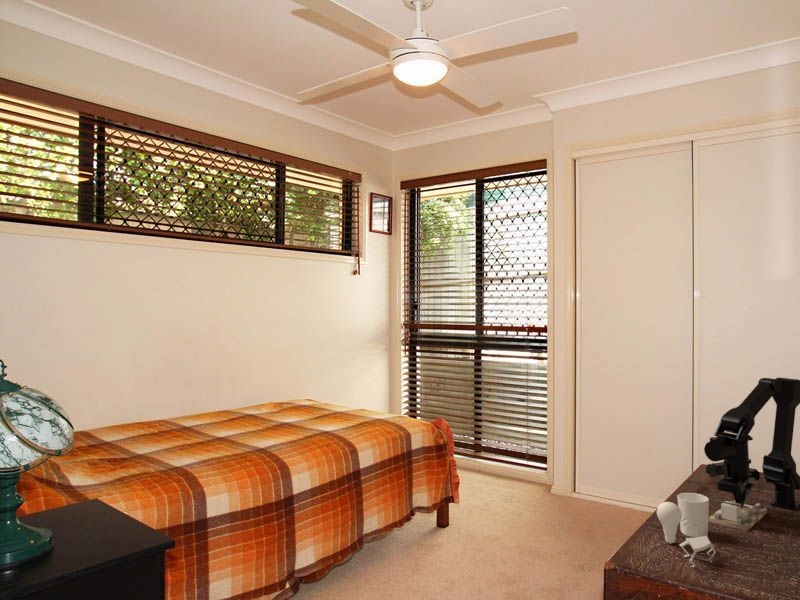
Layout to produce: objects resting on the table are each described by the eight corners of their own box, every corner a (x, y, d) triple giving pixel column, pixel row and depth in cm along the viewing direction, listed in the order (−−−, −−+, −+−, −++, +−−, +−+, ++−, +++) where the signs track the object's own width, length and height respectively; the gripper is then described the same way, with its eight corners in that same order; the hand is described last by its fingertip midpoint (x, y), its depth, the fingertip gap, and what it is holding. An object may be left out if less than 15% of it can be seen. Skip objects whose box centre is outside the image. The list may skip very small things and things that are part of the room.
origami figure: (680, 549, 149) (679, 530, 149) (716, 555, 145) (715, 536, 145) (677, 569, 139) (676, 548, 139) (716, 575, 135) (716, 555, 135)
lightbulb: (685, 548, 149) (684, 506, 150) (661, 547, 151) (659, 506, 151) (679, 539, 155) (677, 498, 155) (655, 538, 157) (653, 498, 157)
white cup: (709, 529, 161) (707, 494, 161) (711, 540, 154) (709, 503, 154) (678, 526, 164) (676, 491, 164) (679, 536, 157) (677, 500, 157)
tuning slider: (716, 512, 170) (716, 497, 170) (751, 520, 163) (750, 505, 163) (711, 515, 167) (711, 501, 167) (746, 524, 160) (746, 508, 160)
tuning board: (730, 505, 178) (730, 497, 178) (767, 513, 171) (766, 505, 171) (709, 521, 166) (708, 513, 166) (747, 530, 159) (746, 522, 159)
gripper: (719, 445, 182) (721, 494, 182) (697, 458, 169) (699, 510, 169) (759, 451, 174) (761, 502, 174) (738, 465, 161) (741, 520, 161)
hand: (740, 508), depth 170 cm, fingers closed
